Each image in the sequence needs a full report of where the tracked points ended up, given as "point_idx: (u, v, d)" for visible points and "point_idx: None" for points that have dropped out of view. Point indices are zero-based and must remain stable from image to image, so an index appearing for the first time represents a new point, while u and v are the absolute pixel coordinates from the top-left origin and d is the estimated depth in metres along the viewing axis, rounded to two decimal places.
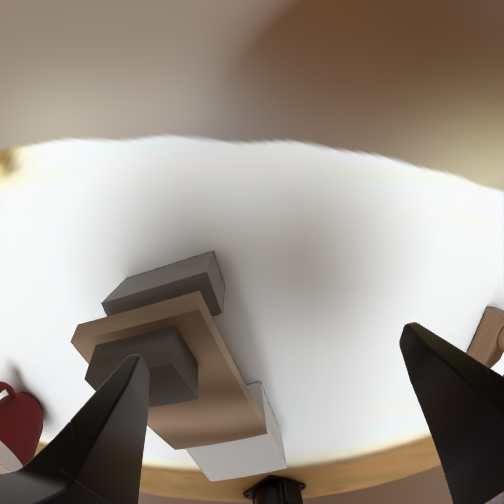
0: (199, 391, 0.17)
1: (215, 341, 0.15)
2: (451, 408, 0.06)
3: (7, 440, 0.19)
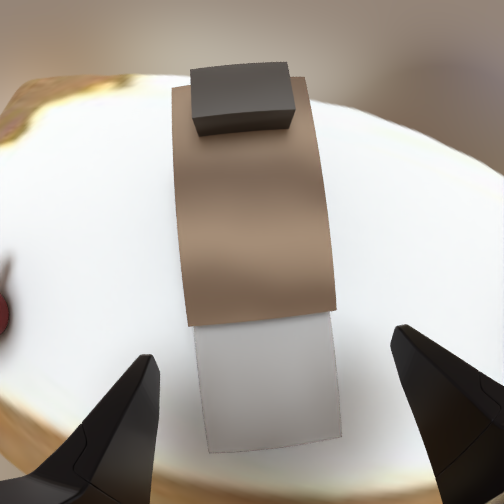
0: (277, 172, 0.16)
1: (310, 109, 0.16)
2: (441, 412, 0.06)
3: None
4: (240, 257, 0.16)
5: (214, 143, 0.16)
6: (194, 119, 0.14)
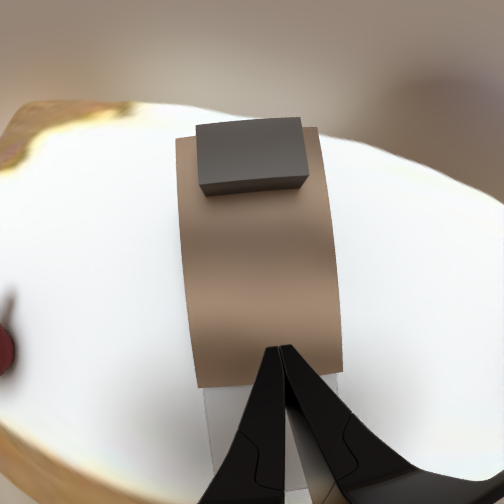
0: (287, 237, 0.16)
1: (323, 165, 0.16)
2: (306, 450, 0.06)
3: None
4: (249, 324, 0.16)
5: (222, 204, 0.16)
6: (201, 185, 0.14)
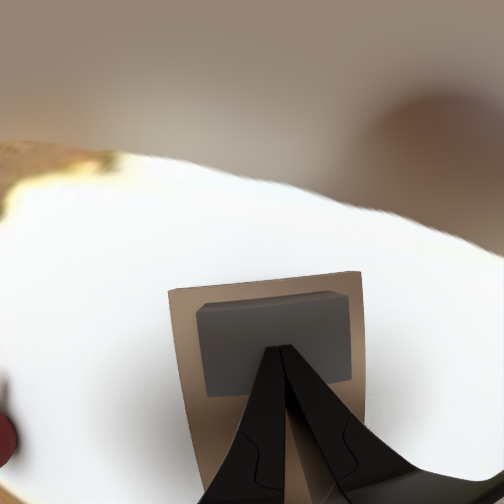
0: None
1: (363, 326, 0.12)
2: (306, 449, 0.06)
3: None
4: None
5: None
6: None
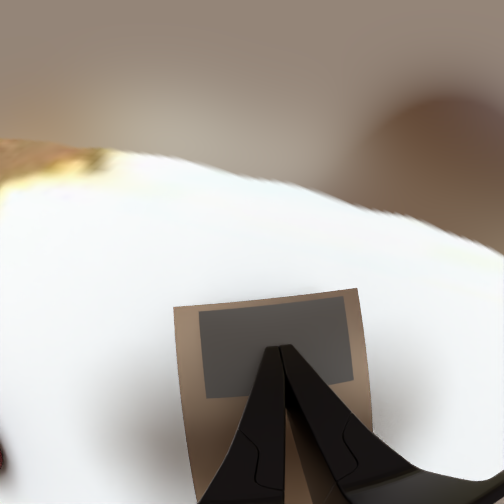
0: None
1: (363, 340, 0.12)
2: (306, 449, 0.06)
3: None
4: None
5: (237, 399, 0.12)
6: (210, 397, 0.09)
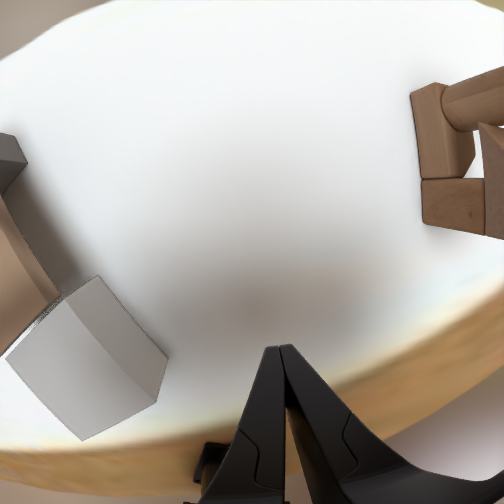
0: None
1: None
2: (306, 449, 0.06)
3: None
4: None
5: None
6: None
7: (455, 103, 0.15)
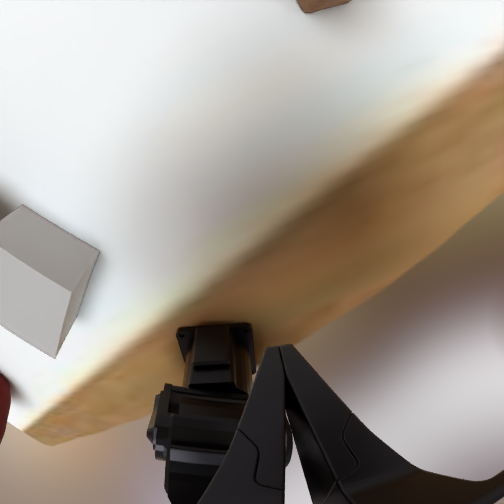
0: None
1: None
2: (306, 449, 0.06)
3: None
4: None
5: None
6: None
7: None
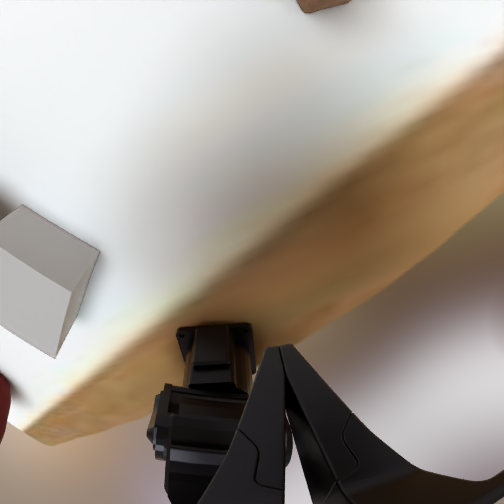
0: None
1: None
2: (306, 449, 0.06)
3: None
4: None
5: None
6: None
7: None
